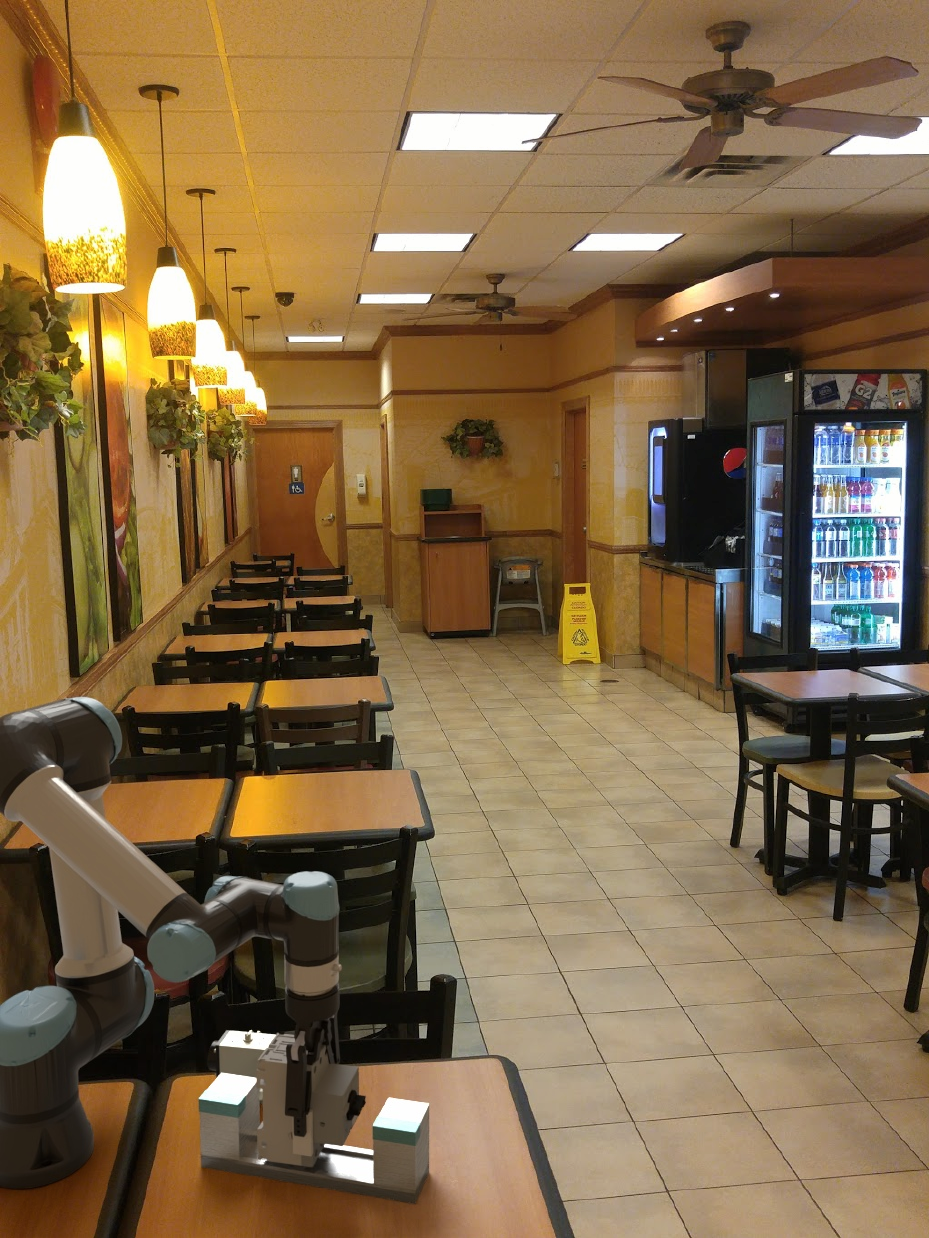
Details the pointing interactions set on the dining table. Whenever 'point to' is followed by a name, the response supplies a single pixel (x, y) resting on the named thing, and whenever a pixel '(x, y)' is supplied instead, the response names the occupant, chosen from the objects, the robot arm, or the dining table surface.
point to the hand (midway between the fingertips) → (314, 1135)
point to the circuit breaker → (329, 1102)
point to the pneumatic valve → (238, 1054)
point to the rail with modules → (375, 1173)
